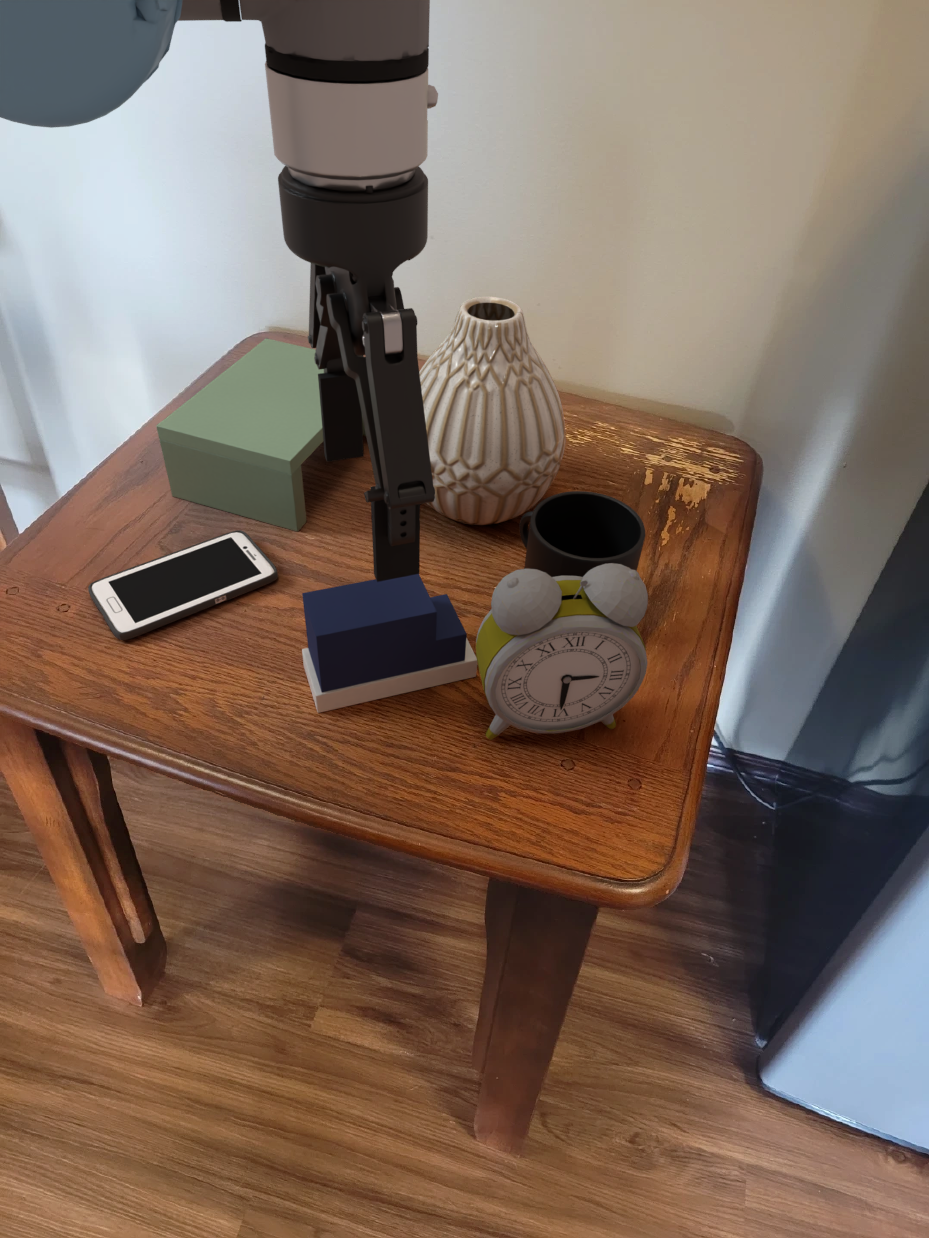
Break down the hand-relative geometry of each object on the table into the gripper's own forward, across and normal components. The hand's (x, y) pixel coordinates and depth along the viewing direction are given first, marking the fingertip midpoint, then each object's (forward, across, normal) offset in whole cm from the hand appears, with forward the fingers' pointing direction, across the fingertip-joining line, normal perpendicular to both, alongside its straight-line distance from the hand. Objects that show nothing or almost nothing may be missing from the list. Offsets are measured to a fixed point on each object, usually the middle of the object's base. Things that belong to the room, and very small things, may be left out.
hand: (368, 511), depth 57 cm
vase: (+17, +20, -16) cm, 31 cm away
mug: (+17, +4, -18) cm, 25 cm away
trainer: (+16, 0, -1) cm, 16 cm away
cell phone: (+16, +15, +13) cm, 26 cm away
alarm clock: (+17, -8, -12) cm, 22 cm away
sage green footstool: (+16, +32, +1) cm, 36 cm away
